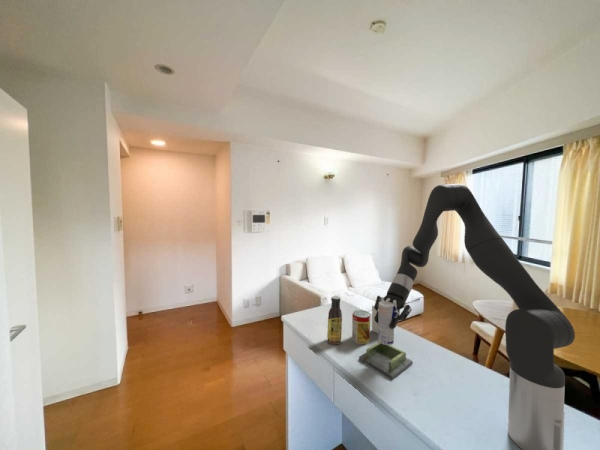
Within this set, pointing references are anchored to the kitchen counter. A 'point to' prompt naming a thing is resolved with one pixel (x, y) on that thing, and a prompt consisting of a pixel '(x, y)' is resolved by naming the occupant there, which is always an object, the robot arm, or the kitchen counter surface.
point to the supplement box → (374, 324)
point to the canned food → (361, 326)
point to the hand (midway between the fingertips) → (383, 324)
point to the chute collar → (386, 360)
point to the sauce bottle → (334, 321)
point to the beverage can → (385, 323)
